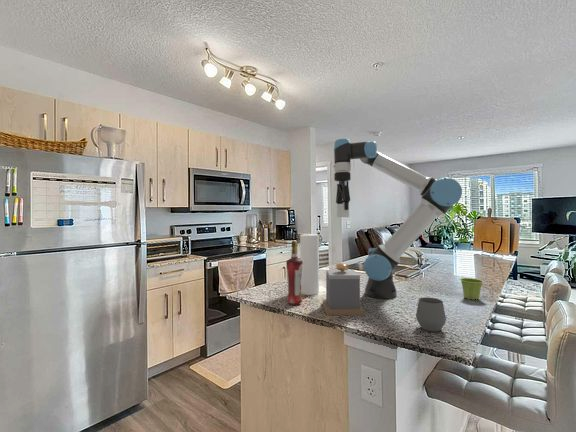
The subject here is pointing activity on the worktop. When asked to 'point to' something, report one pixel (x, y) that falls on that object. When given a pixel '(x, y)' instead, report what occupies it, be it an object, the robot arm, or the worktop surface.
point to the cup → (431, 314)
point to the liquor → (294, 276)
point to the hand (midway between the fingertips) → (342, 217)
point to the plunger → (342, 267)
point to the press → (342, 293)
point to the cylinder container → (310, 263)
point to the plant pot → (471, 288)
